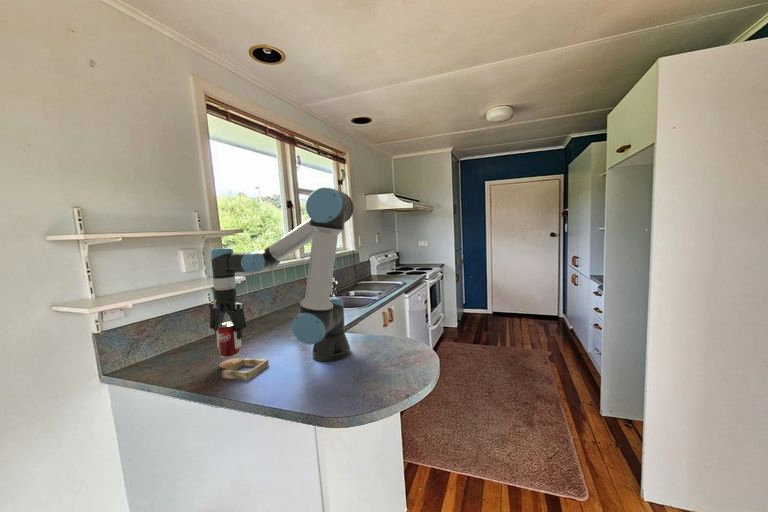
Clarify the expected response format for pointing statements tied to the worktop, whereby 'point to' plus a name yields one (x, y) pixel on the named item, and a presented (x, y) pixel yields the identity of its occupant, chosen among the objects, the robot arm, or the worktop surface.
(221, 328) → the soda can
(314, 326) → the robot arm
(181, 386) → the worktop surface
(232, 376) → the frame
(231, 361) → the coaster
